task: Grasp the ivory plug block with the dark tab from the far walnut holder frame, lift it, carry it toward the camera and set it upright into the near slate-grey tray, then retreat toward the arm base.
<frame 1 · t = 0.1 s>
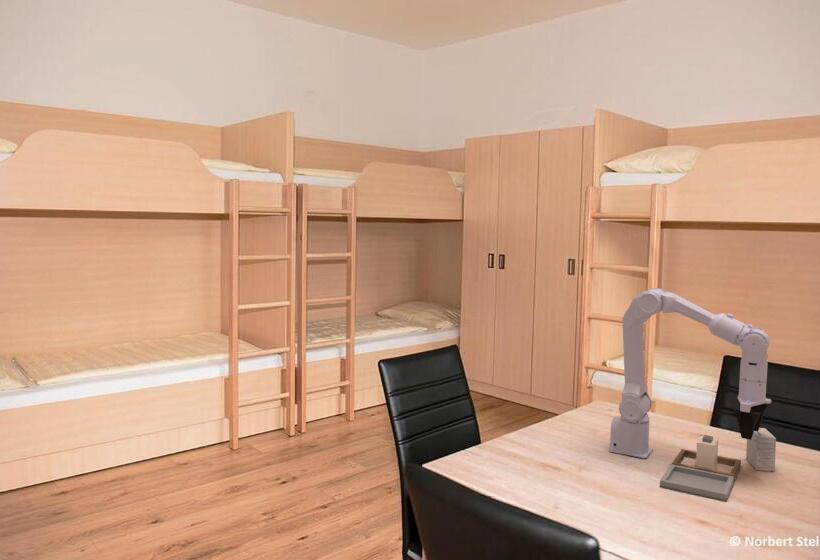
hand: (750, 434, 155), 10 cm above the table, fingers open, 7 cm apart
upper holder: (706, 467, 160), on the table
plug block: (707, 452, 160), in the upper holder
medicine box: (759, 466, 161), on the table
lower tray: (697, 485, 149), on the table
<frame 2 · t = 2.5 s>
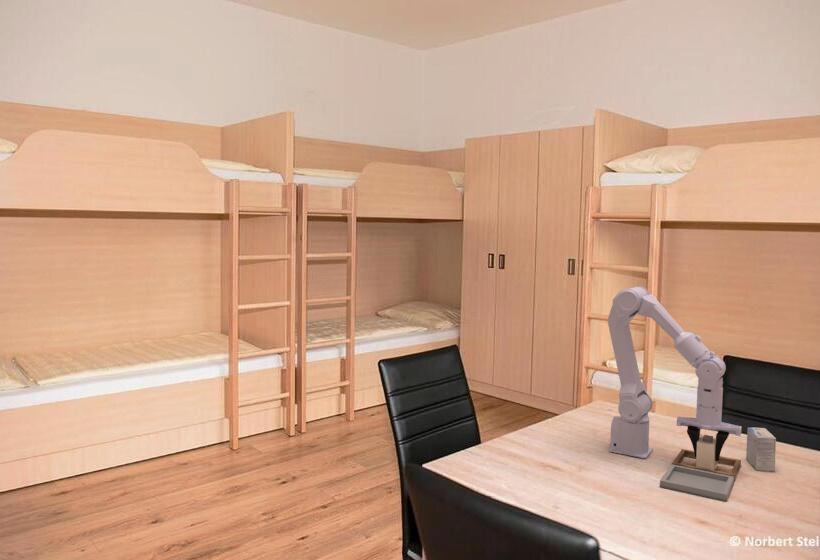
hand: (706, 458, 160), 2 cm above the table, fingers closed on plug block, 4 cm apart
plug block: (707, 452, 160), in the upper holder, touching gripper
everything else where it was.
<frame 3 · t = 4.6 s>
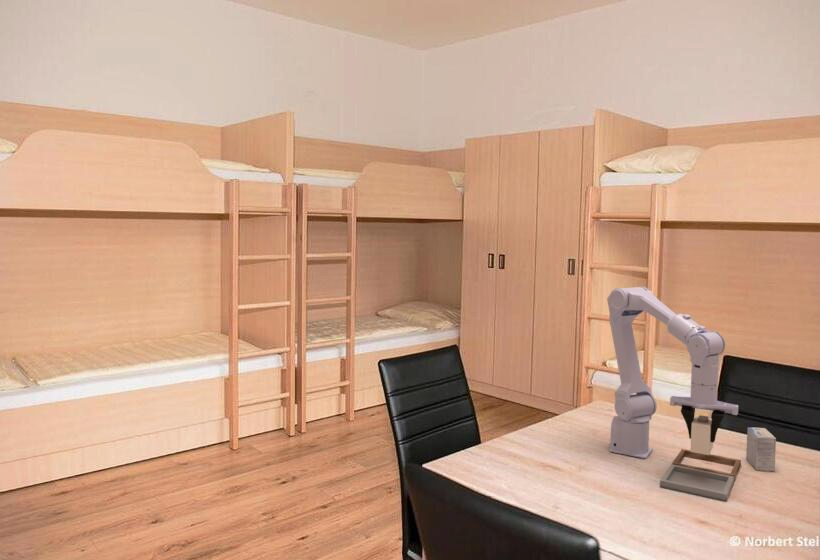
hand: (702, 439, 151), 10 cm above the table, fingers closed on plug block, 4 cm apart
plug block: (702, 433, 151), point 11 cm above the table, touching gripper
everything else where it was.
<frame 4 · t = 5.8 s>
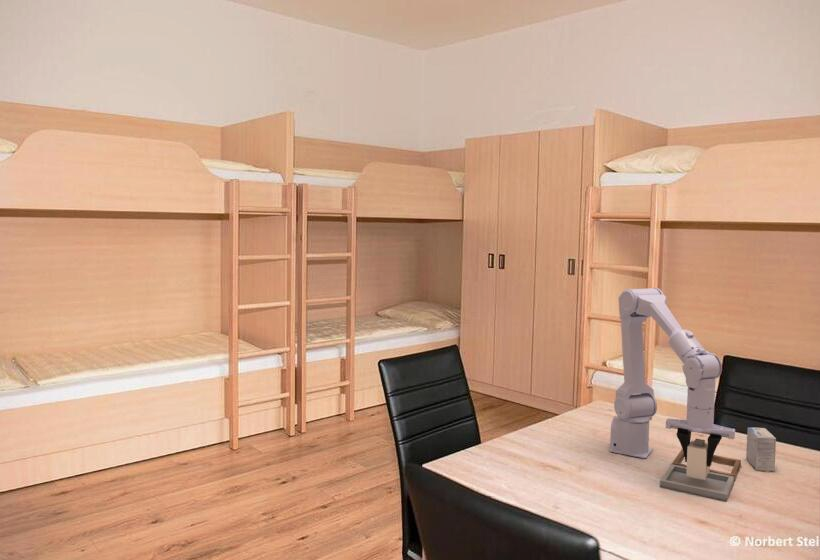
hand: (698, 463, 149), 5 cm above the table, fingers closed on plug block, 4 cm apart
plug block: (698, 457, 149), point 7 cm above the table, touching gripper
everything else where it was.
when the fingers open (4 cm above the table, at t = 6.9 s): plug block stays where it is, resting on lower tray.
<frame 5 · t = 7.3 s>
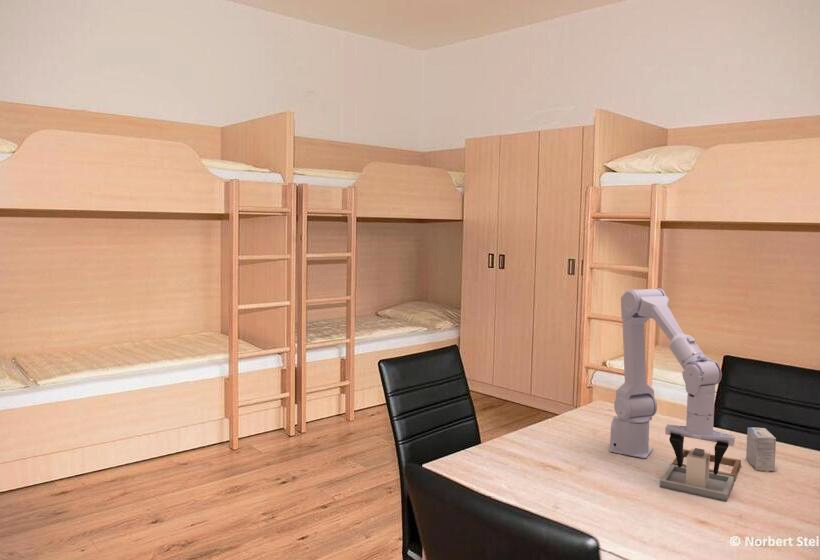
hand: (697, 469, 149), 4 cm above the table, fingers open, 7 cm apart
plug block: (697, 466, 149), in the lower tray
everything else where it was.
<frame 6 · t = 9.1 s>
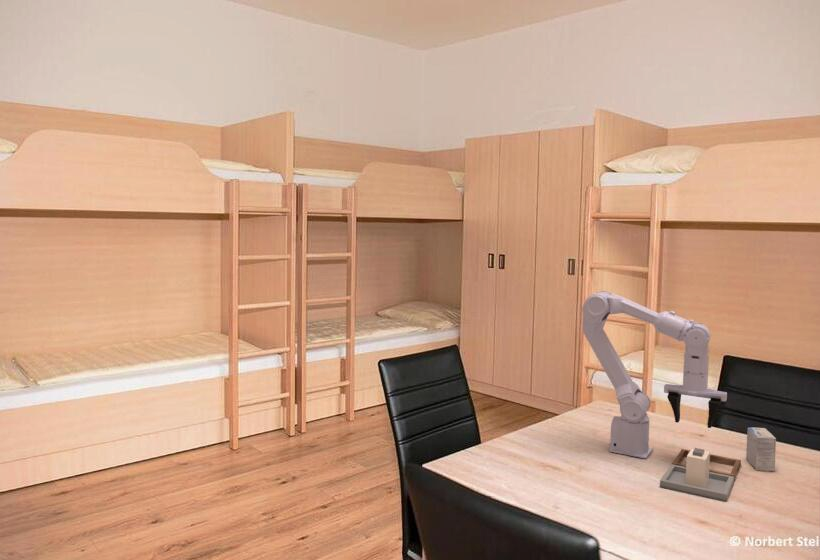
hand: (693, 424, 163), 10 cm above the table, fingers open, 7 cm apart
nothing on the table moved.
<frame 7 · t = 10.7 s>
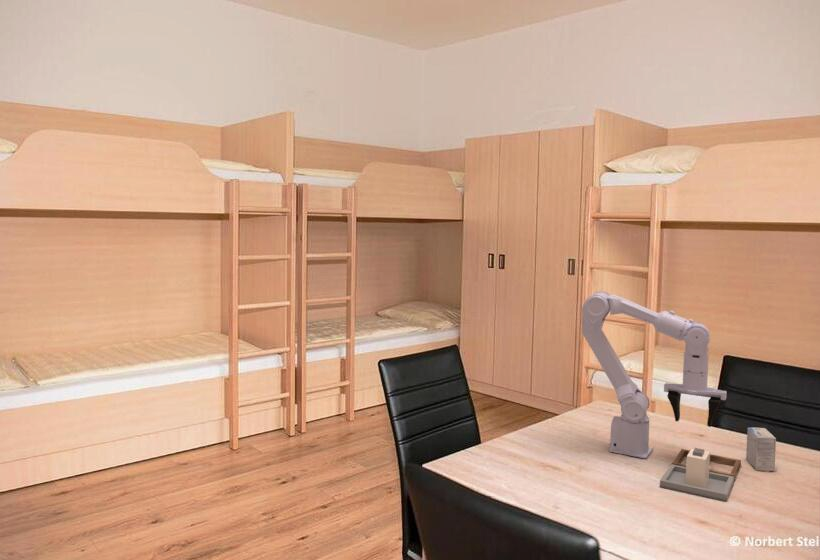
hand: (693, 422, 164), 10 cm above the table, fingers open, 7 cm apart
nothing on the table moved.
at the end: plug block 0.3 cm off-centre on the lower tray, point 4.3 cm above the lower tray's base; plug block tilted 0°; the gripper is holding nothing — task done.
